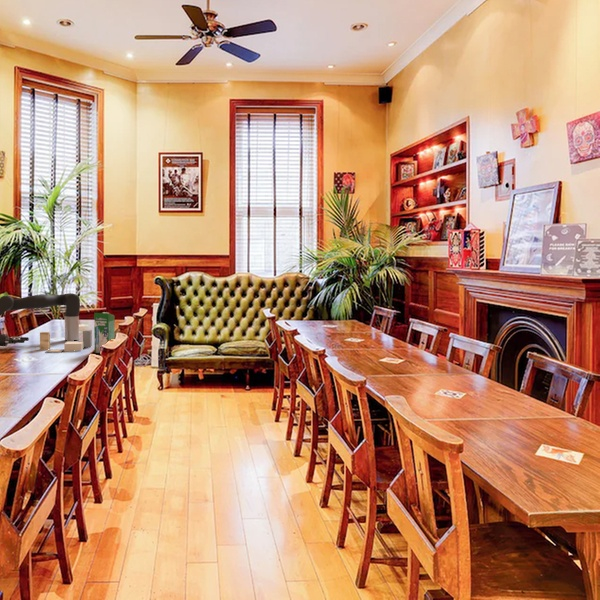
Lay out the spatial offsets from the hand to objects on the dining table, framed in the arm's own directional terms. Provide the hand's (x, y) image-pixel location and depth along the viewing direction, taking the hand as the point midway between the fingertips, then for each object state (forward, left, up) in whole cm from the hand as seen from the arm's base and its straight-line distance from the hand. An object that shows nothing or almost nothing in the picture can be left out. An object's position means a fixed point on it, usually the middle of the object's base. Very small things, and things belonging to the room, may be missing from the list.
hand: (26, 340), depth 346 cm
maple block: (0, +11, -6) cm, 13 cm away
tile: (+9, +19, -6) cm, 22 cm away
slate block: (-8, +35, -6) cm, 36 cm away
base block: (+3, +29, -6) cm, 30 cm away
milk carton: (+12, +49, -6) cm, 51 cm away
